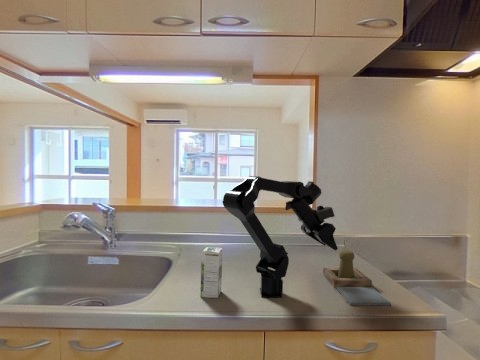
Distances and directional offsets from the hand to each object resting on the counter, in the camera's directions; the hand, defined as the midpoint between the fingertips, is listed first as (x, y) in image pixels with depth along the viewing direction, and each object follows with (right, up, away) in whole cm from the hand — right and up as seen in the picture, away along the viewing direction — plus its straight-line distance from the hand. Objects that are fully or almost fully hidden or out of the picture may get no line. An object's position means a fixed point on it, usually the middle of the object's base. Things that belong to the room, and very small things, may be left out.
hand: (330, 247), depth 108 cm
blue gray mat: (+7, -14, -11) cm, 18 cm away
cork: (+7, -13, +3) cm, 15 cm away
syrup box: (-41, -13, -10) cm, 44 cm away
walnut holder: (+7, -13, +3) cm, 15 cm away
